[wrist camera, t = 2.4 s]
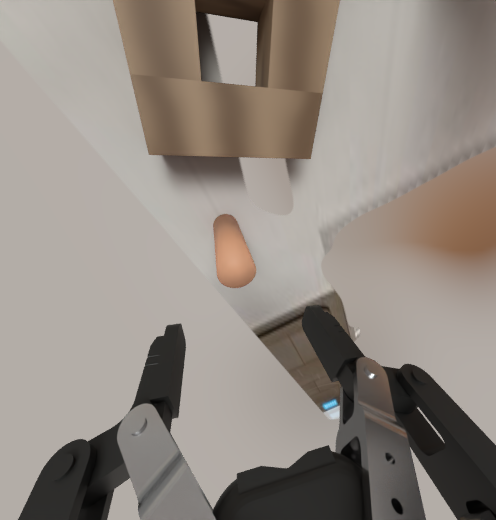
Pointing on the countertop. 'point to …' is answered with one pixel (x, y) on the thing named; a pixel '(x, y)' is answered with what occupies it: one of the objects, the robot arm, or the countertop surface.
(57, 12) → the countertop surface
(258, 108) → the socket block
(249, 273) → the peg
